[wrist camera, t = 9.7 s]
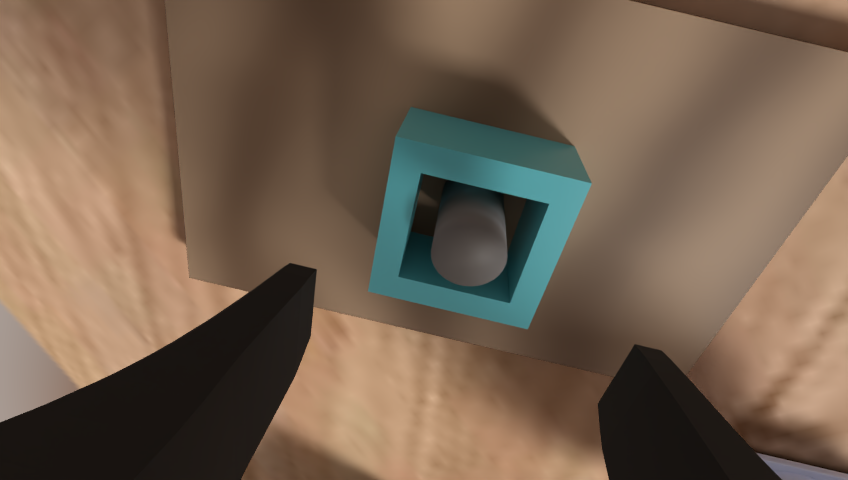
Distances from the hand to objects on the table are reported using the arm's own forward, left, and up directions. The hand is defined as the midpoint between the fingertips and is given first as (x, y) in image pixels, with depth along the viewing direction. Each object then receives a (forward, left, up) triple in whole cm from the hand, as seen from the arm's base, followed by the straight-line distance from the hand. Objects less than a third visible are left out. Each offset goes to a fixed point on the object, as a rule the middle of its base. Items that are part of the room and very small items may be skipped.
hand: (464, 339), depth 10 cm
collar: (0, 0, -7) cm, 7 cm away
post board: (0, 0, -9) cm, 9 cm away
